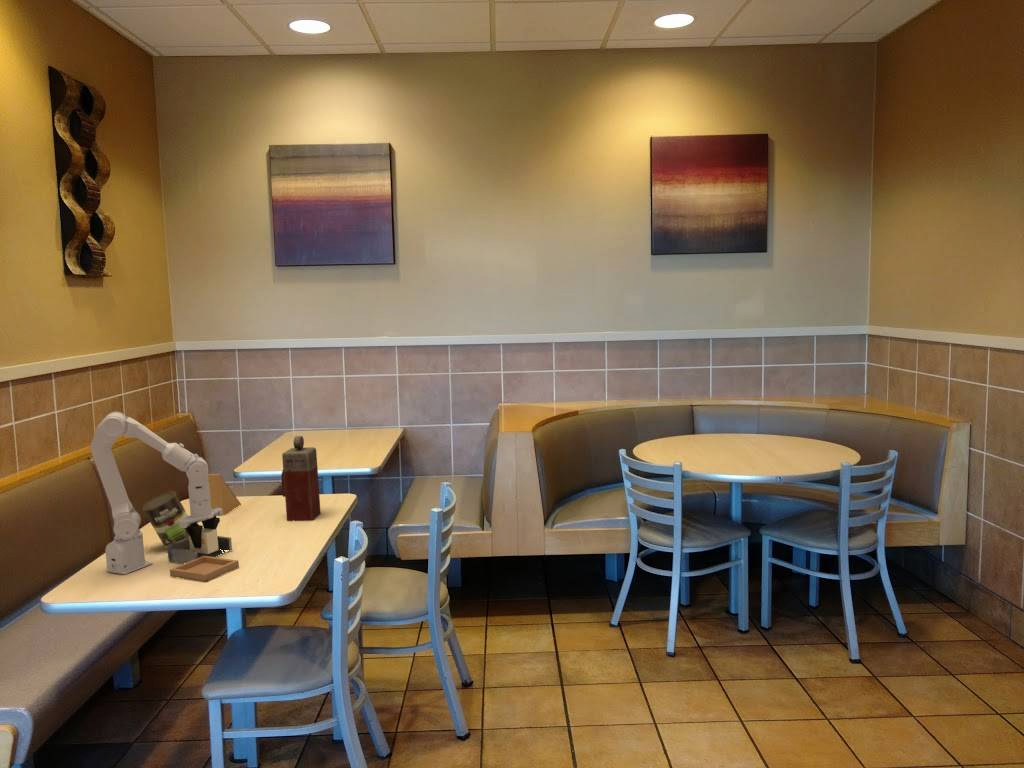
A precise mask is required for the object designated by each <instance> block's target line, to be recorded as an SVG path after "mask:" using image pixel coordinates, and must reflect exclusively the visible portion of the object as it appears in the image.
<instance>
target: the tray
mask: <svg viewBox="0 0 1024 768" xmlns="http://www.w3.org/2000/svg"><path fill="white" fill-rule="evenodd" d="M237 567H239V568H240V565H239V560H237V559H230V558H222V557H210V556H202V557H199V558H197V559H194V560H192V561H190V562H187V563H185V564H179V565H177V566H175V567H173V568H170V569H169V575H170V576H172V577H171V578H176V577H179V578H178V579H183V578H184V579H185V580H189V579H190V581H195V580H197V582H203V583H207V582H209V580H210V581H212V580H214V579H216V578H219V577H221V576H223V575H225V574H227V573H226V572H228V571H230V572H232V571H234V570H236V569H235V568H237ZM233 569H234V570H233ZM237 569H238V568H237ZM231 570H232V571H231ZM224 573H225V574H224ZM228 573H229V572H228ZM222 574H223V575H222ZM220 575H221V576H220ZM218 576H219V577H218ZM215 577H216V578H215Z"/></svg>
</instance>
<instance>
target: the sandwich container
mask: <svg viewBox="0 0 1024 768" xmlns="http://www.w3.org/2000/svg"><path fill="white" fill-rule="evenodd" d="M207 476H208V482H209V487H210V499H211V510H212V509H216V508H222V510H223V515H224V516H225V514H226V515H228V514H229V513H230V511H231V512H233V511H234V510H235V509H234V508H236V507H237V508H239V507H240V506H242V505H241V504H242V503H241V502H240V500H239V499H238V498H237V496H236V495H235V493H234V492H233V491H232V490H231V487H229V485H228V484H227V482H226V480H225V479H224V477H223V476H222V474H221V473H208V475H207ZM239 505H240V506H239ZM238 506H239V507H238ZM237 508H236V509H237ZM233 509H234V510H233ZM232 510H233V511H232ZM228 512H229V513H228ZM227 513H228V514H227ZM223 515H218V516H217V517H220V516H221V517H222V516H223ZM224 516H223V517H224Z"/></svg>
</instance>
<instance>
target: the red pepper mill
mask: <svg viewBox="0 0 1024 768" xmlns="http://www.w3.org/2000/svg"><path fill="white" fill-rule="evenodd" d="M292 441H293V447H292V448H288V449H287V450H286V451H284V452H282V454H281V460H282V471H281V475H280V476H281V477H280V478H281V487H282V488H281V490H282V497H283V498H285V512H286V515H285V516H286V521H287V522H303V521H304V522H305V521H306V522H307V521H311V522H312V521H314V520H315V519H316V518H318V516H319V515H321V514H322V513H321V501H320V500H321V499H320V489H319V488H320V485H319V472H318V471H319V467H318V457H317V448H316V447H314V446H313V447H312V446H311V447H304V445H305V439H304V437H303V436H302V435H298V436H297V435H295V436H294V437H293V440H292ZM293 520H294V521H293Z"/></svg>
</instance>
